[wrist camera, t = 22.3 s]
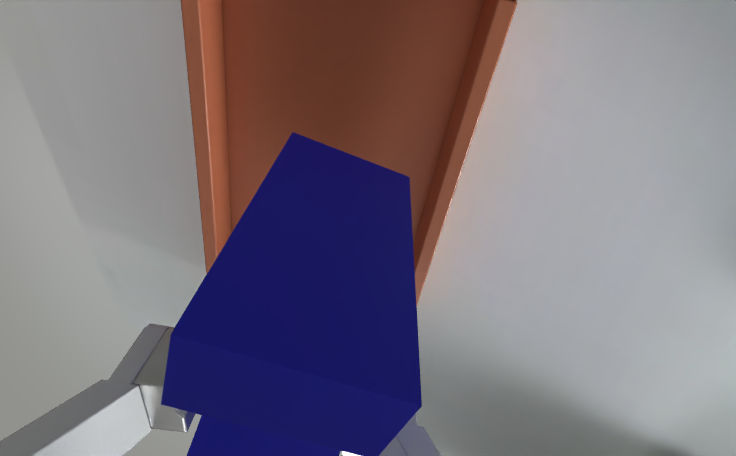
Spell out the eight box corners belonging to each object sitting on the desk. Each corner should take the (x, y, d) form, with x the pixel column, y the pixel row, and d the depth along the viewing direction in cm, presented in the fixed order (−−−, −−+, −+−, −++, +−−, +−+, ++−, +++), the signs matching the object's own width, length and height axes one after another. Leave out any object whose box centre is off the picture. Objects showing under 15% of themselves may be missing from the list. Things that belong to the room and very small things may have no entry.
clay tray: (404, 305, 23) (405, 340, 20) (226, 277, 22) (209, 310, 20) (506, -25, 13) (526, -22, 11) (206, -85, 13) (170, -94, 11)
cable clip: (322, 424, 16) (289, 624, 12) (216, 396, 16) (133, 596, 11) (463, 197, 10) (528, 436, 5) (292, 131, 9) (171, 334, 4)
